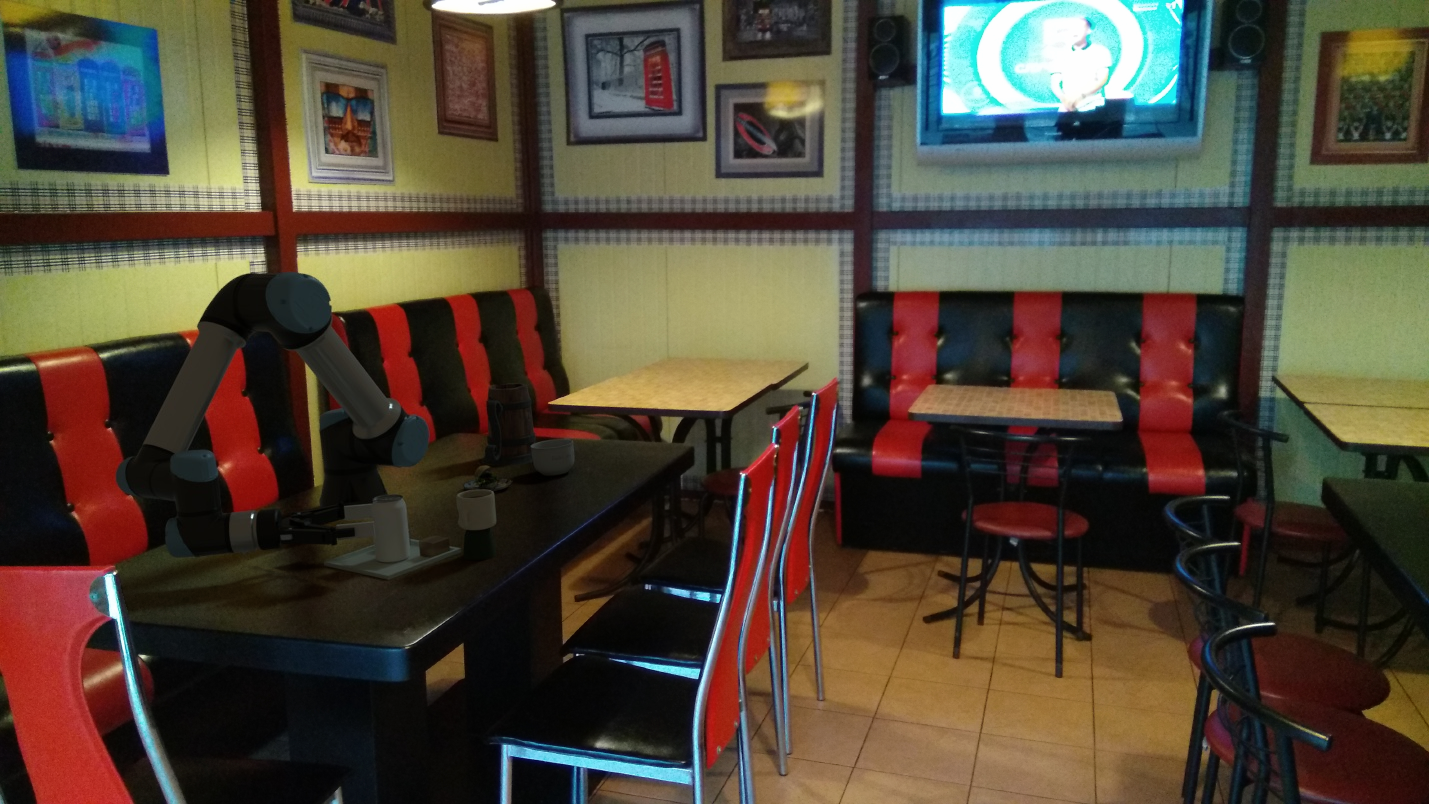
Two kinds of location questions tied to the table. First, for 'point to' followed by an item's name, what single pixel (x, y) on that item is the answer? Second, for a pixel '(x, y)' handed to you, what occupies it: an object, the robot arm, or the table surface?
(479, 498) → the character mug
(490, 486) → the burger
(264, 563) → the table surface
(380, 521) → the can
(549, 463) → the teacup
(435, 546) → the walnut block
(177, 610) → the table surface
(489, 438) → the tankard
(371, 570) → the tray
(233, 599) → the table surface
